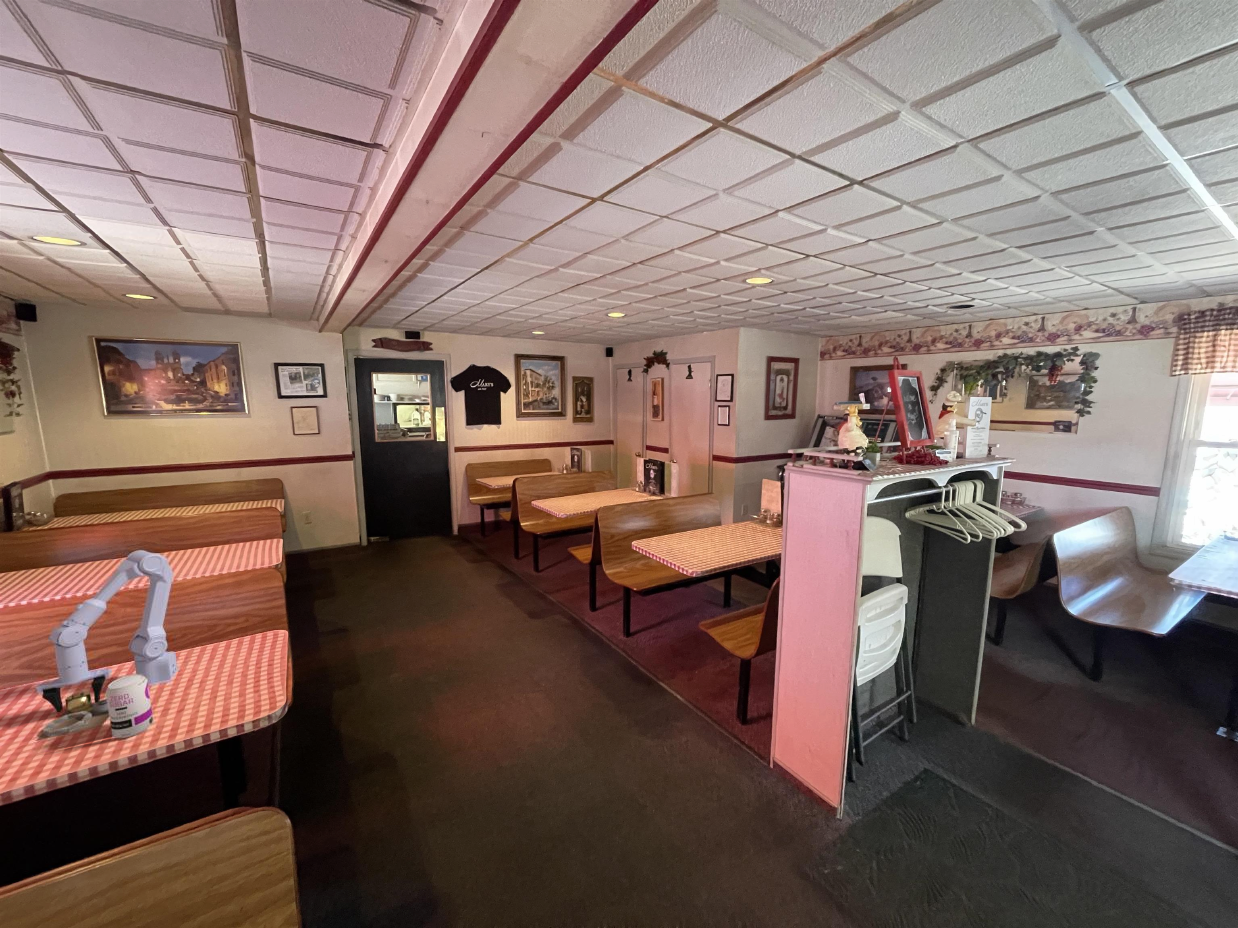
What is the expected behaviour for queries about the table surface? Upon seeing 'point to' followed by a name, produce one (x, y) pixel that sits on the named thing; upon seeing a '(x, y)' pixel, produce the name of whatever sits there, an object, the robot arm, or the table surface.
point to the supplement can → (129, 706)
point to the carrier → (77, 721)
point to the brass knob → (78, 702)
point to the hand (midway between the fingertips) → (79, 705)
